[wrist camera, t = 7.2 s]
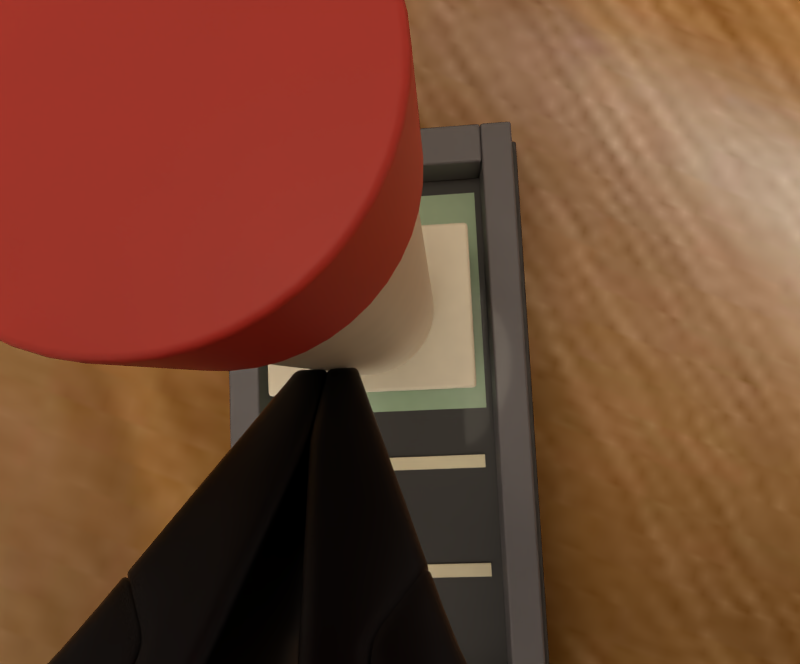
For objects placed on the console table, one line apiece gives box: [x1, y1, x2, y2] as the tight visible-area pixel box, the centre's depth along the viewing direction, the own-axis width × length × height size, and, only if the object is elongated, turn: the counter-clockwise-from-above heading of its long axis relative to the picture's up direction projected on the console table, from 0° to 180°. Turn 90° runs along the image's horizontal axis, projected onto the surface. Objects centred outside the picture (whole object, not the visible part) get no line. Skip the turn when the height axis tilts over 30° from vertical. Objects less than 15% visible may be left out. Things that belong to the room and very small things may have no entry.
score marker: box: [0, 0, 476, 397], centre depth 9 cm, size 4×4×12 cm
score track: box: [229, 122, 549, 664], centre depth 14 cm, size 14×7×2 cm, turn 3°
